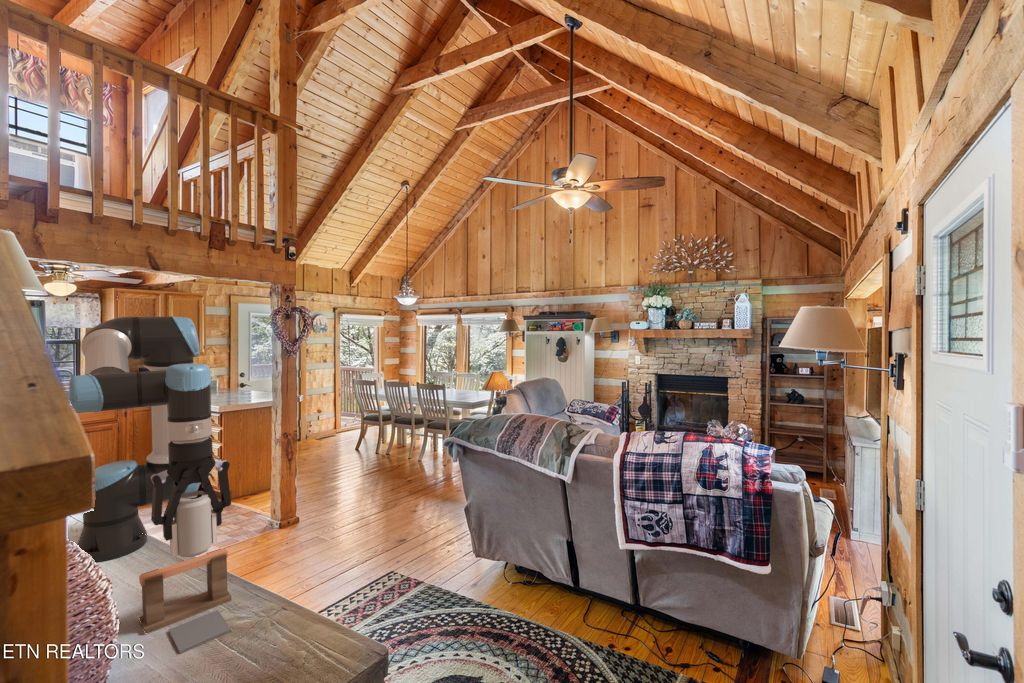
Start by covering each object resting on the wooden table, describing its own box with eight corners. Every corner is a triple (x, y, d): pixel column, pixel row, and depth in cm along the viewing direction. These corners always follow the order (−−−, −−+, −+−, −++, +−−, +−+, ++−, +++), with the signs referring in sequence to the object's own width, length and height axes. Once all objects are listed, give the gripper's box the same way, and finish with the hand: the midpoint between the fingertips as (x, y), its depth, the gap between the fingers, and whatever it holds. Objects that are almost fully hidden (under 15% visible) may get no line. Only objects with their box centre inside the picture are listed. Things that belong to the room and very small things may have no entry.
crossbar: (139, 582, 99) (139, 575, 99) (224, 554, 111) (224, 548, 111) (141, 586, 98) (141, 579, 98) (227, 557, 110) (227, 551, 109)
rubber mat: (168, 631, 98) (168, 629, 98) (217, 611, 105) (217, 609, 105) (179, 653, 92) (179, 651, 92) (231, 631, 99) (231, 628, 98)
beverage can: (193, 560, 95) (192, 502, 94) (167, 557, 96) (165, 499, 95) (219, 545, 101) (218, 491, 100) (194, 542, 102) (192, 488, 102)
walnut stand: (139, 621, 101) (137, 573, 100) (223, 589, 113) (222, 546, 112) (145, 634, 97) (143, 584, 96) (231, 600, 109) (230, 555, 108)
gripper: (135, 452, 87) (139, 572, 89) (247, 433, 102) (250, 537, 103) (127, 444, 93) (132, 558, 94) (236, 427, 107) (238, 526, 108)
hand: (194, 547), depth 99 cm, fingers closed on beverage can, 6 cm apart
